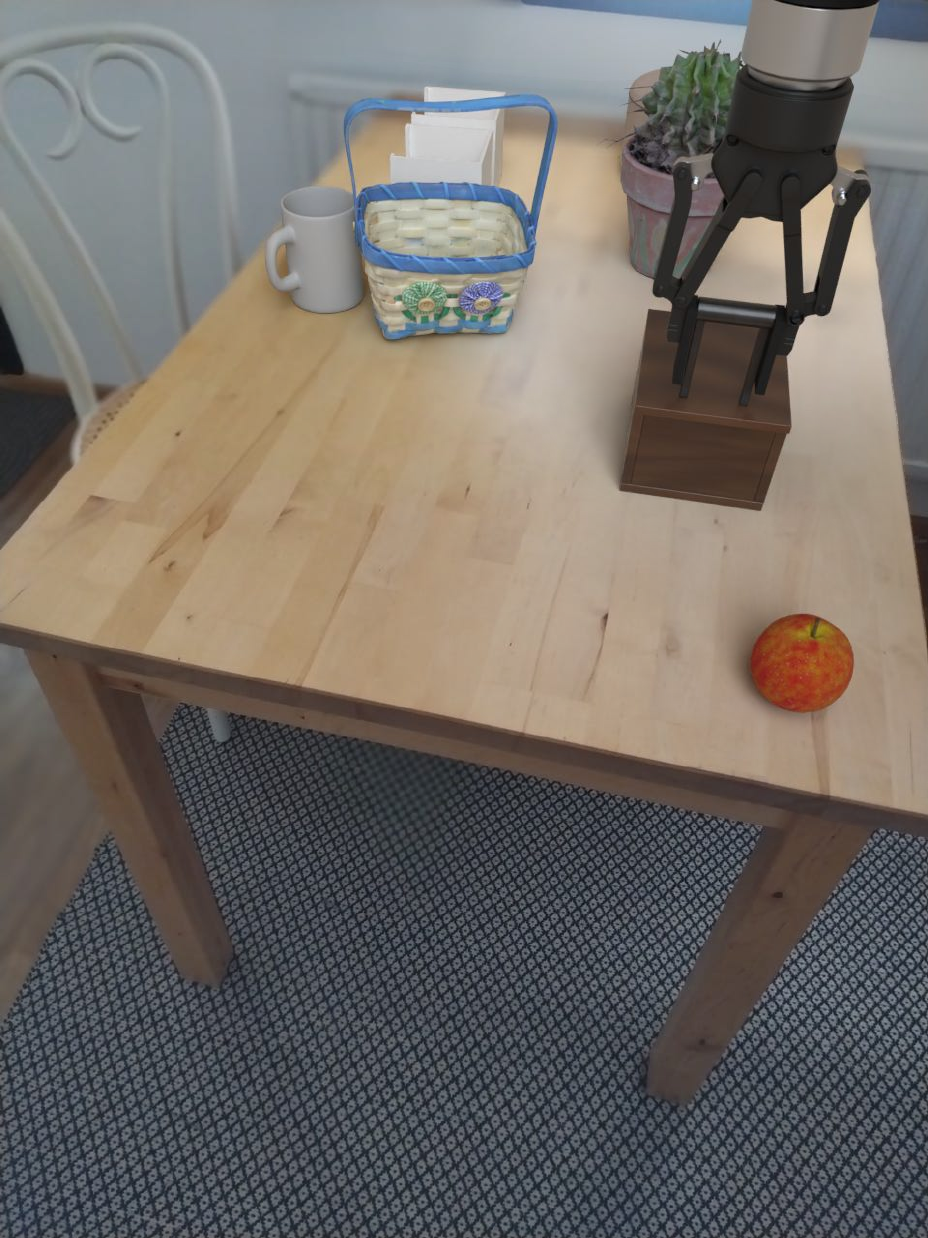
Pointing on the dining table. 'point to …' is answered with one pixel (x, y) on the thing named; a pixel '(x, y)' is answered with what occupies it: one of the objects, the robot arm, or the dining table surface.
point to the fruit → (802, 663)
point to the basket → (446, 238)
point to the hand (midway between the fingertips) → (718, 380)
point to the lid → (715, 369)
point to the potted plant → (675, 152)
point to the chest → (698, 460)
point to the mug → (318, 250)
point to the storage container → (452, 143)
